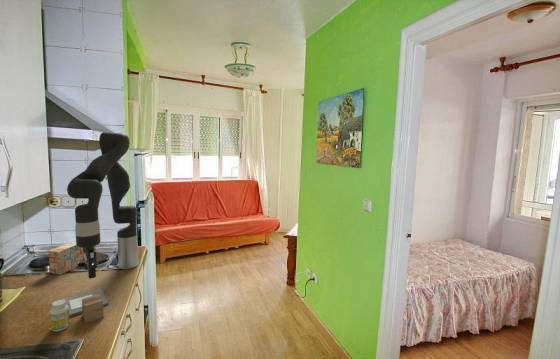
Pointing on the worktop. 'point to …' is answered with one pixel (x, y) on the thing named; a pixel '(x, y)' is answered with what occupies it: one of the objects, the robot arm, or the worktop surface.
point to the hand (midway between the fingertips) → (90, 273)
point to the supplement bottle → (59, 315)
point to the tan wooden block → (92, 308)
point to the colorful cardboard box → (65, 258)
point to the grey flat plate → (76, 302)
